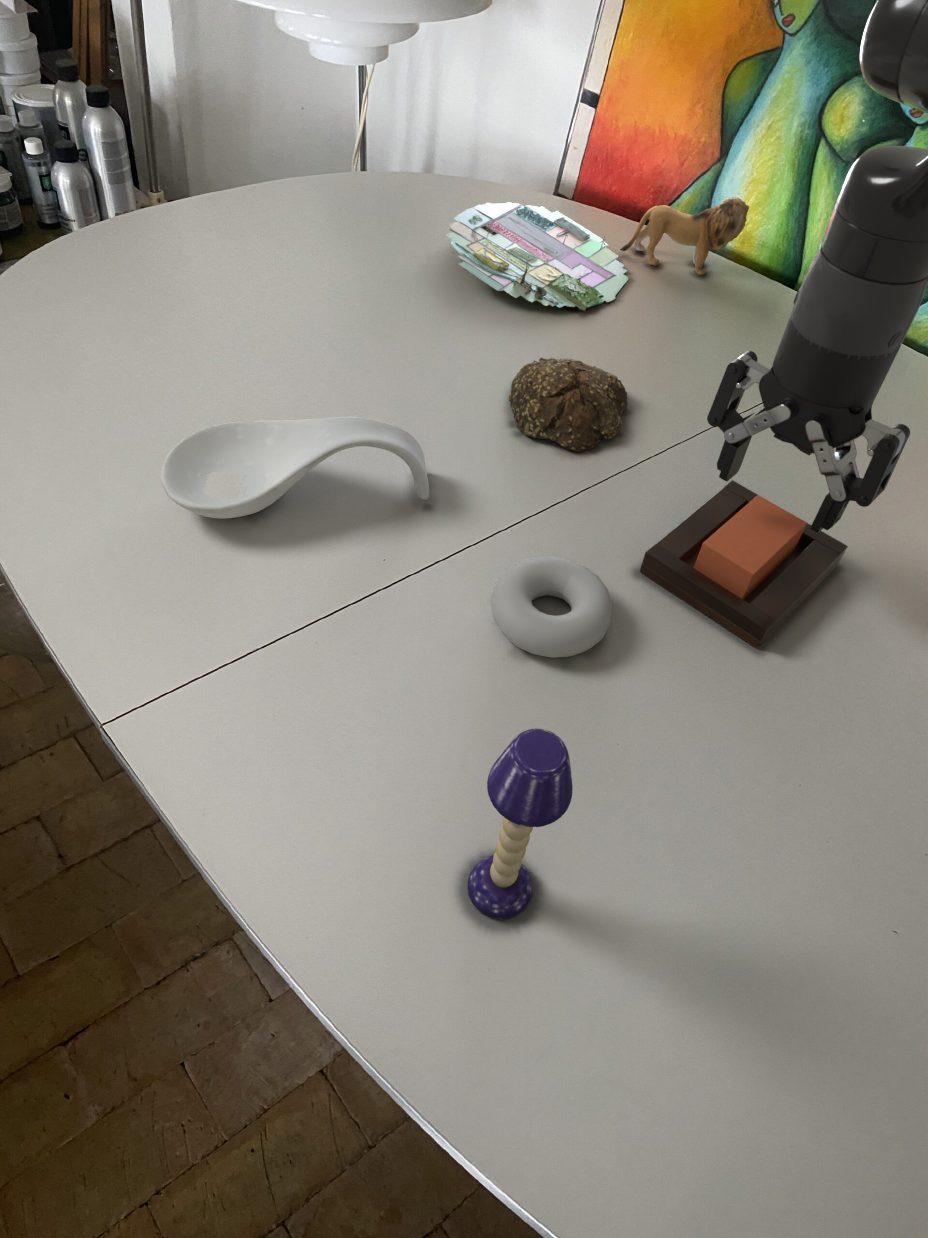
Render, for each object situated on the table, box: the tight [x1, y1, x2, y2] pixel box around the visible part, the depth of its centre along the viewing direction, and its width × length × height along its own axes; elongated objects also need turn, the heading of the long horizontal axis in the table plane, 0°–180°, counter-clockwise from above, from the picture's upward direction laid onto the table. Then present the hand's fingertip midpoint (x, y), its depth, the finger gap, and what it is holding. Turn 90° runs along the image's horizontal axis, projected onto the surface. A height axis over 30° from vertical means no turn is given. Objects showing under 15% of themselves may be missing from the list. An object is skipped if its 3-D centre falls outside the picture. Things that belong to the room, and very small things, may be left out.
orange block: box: [694, 494, 808, 600], centre depth 76 cm, size 9×5×4 cm, turn 137°
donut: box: [490, 555, 614, 659], centre depth 71 cm, size 10×4×10 cm
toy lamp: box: [467, 728, 574, 920], centre depth 51 cm, size 5×5×17 cm
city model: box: [444, 201, 629, 312], centre depth 109 cm, size 25×23×6 cm
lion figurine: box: [619, 196, 750, 276], centre depth 111 cm, size 15×5×9 cm, turn 80°
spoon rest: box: [160, 415, 430, 519], centre depth 78 cm, size 24×12×7 cm, turn 99°
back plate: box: [639, 479, 848, 650], centre depth 77 cm, size 14×12×2 cm
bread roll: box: [508, 357, 629, 453], centre depth 89 cm, size 13×12×5 cm
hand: (772, 500), depth 71 cm, fingers open, 8 cm apart
